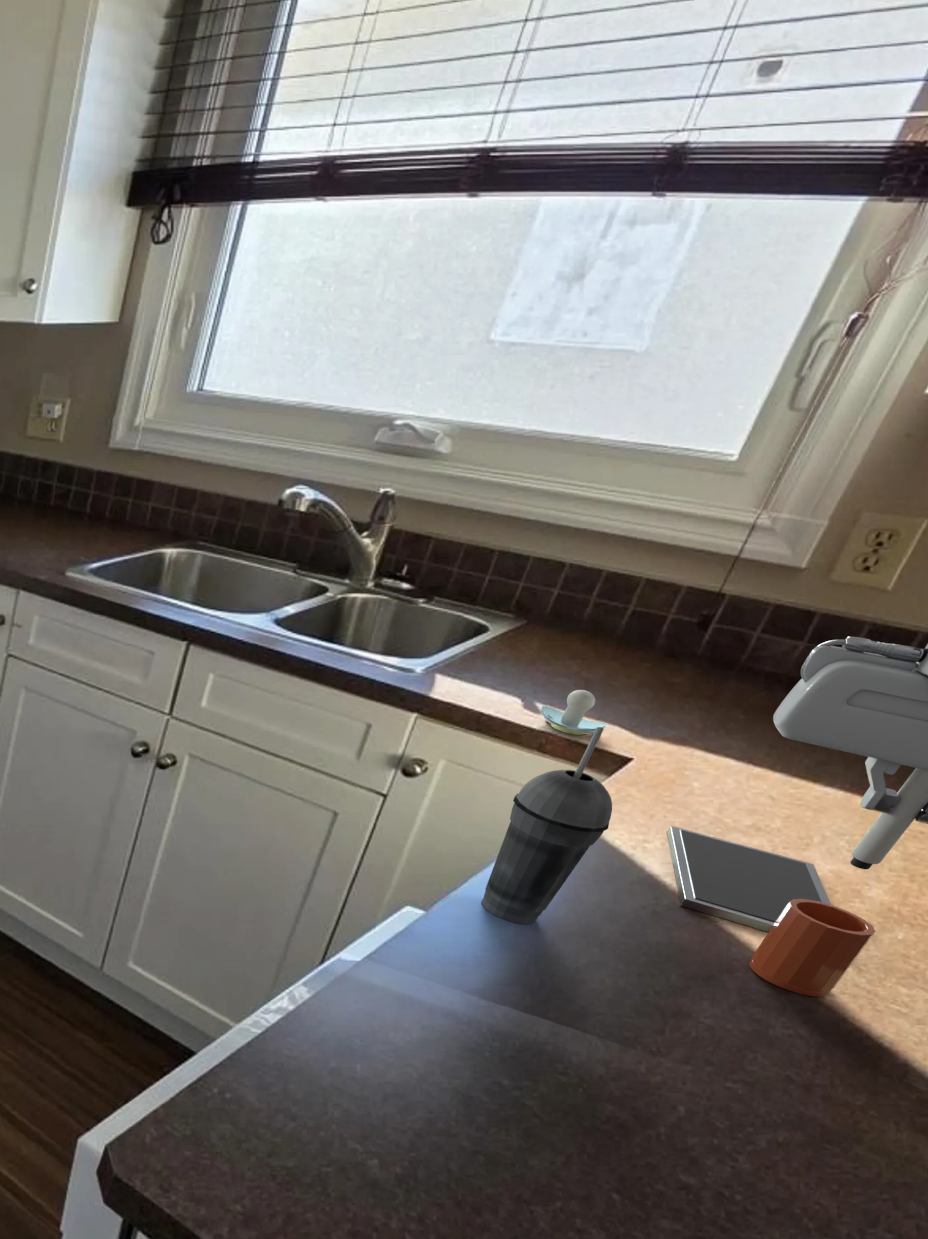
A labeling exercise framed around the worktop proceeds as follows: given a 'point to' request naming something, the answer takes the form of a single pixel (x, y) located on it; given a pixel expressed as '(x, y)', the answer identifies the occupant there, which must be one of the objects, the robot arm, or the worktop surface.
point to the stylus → (892, 822)
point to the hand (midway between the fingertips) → (899, 815)
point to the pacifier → (573, 714)
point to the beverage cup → (546, 839)
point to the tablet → (739, 879)
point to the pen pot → (810, 947)
